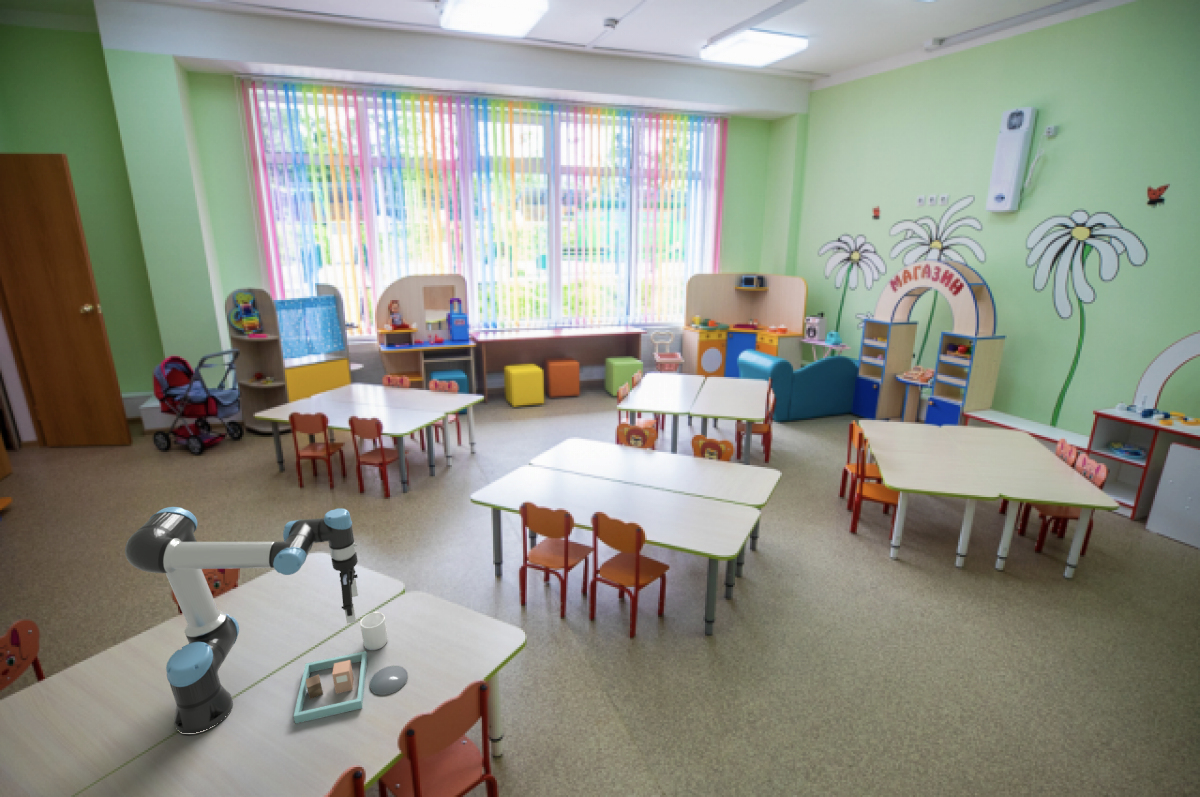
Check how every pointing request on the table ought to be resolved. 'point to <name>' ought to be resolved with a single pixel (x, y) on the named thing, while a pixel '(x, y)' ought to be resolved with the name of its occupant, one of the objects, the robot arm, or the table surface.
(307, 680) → the walnut block
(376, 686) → the grey dome puck
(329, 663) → the corral
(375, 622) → the cup
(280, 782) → the table surface
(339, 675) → the painted box
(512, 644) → the table surface
